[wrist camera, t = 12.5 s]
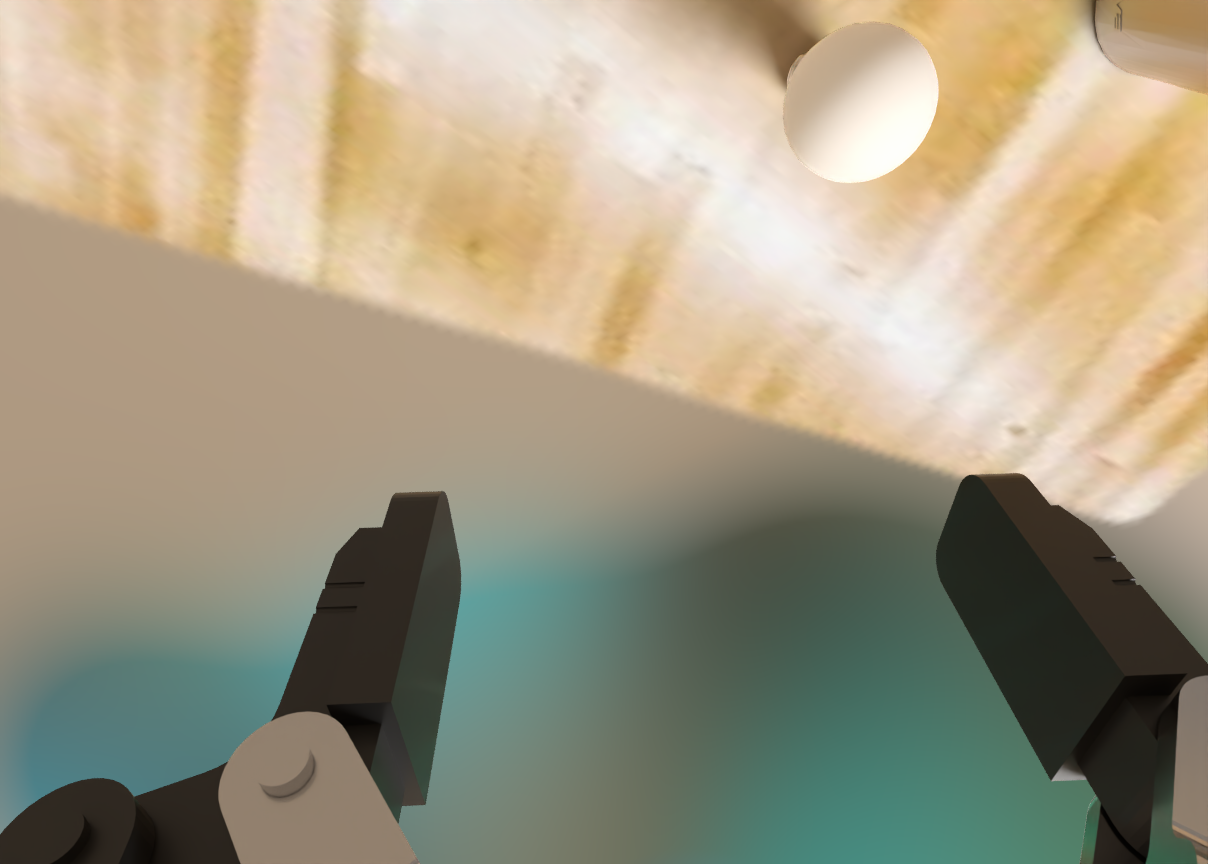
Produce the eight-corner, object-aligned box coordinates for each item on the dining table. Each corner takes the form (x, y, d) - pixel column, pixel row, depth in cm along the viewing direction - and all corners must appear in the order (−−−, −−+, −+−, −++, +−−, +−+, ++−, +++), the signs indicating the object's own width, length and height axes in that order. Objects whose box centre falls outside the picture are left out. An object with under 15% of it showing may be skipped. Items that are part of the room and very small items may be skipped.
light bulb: (734, 37, 37) (789, 75, 28) (860, -19, 36) (958, 1, 27) (765, 158, 41) (822, 225, 32) (880, 110, 39) (972, 166, 31)
